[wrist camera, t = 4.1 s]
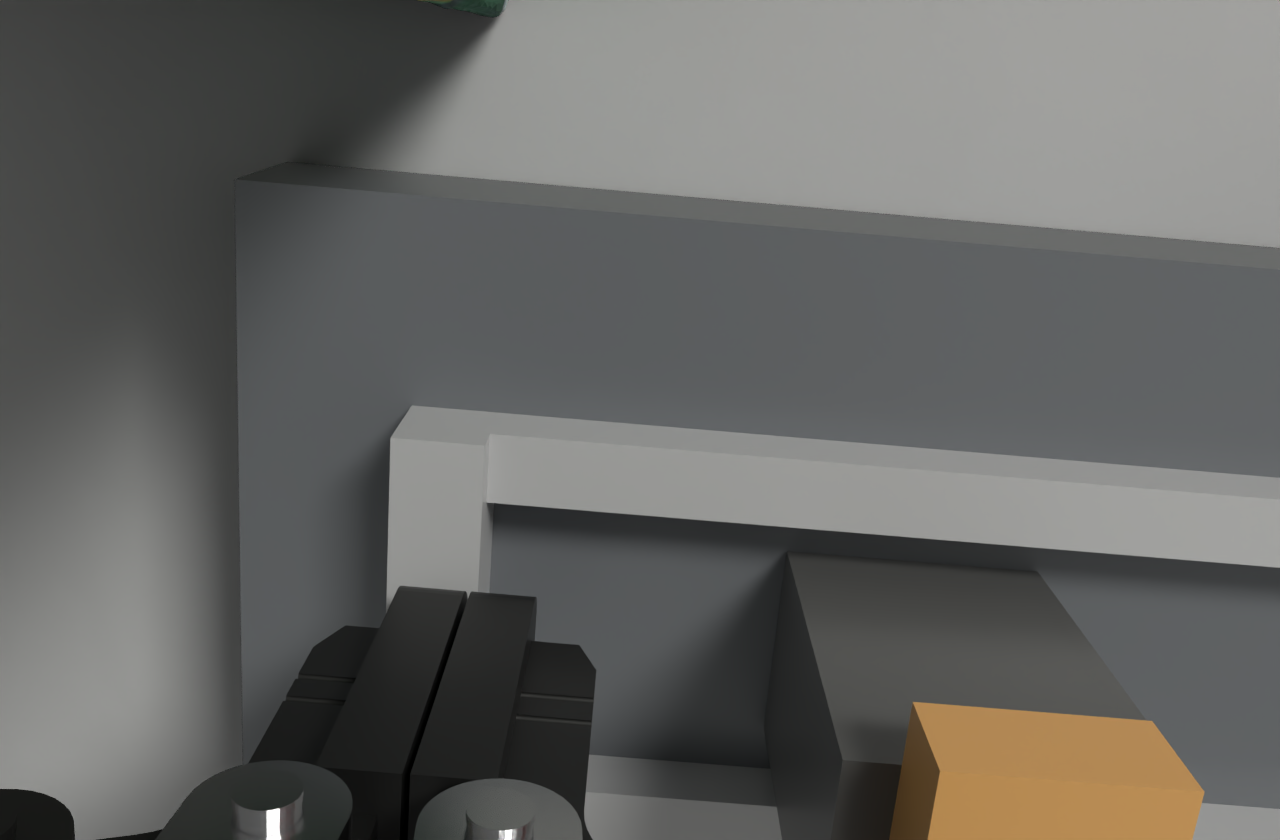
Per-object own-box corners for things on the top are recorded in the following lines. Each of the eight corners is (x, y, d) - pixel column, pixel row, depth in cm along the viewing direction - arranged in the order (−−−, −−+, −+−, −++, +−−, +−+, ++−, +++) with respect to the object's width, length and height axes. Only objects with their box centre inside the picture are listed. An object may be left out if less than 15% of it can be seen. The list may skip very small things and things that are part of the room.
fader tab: (792, 504, 14) (874, 766, 9) (1046, 524, 14) (1269, 796, 9) (758, 770, 15) (813, 1139, 10) (994, 789, 15) (1168, 1166, 10)
